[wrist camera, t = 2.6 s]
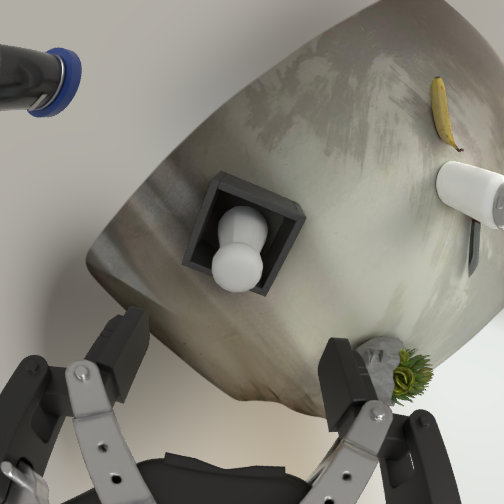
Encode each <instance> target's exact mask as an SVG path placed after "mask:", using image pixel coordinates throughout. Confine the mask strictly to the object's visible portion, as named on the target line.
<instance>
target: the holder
mask: <svg viewBox="0 0 504 504" xmlns="http://www.w3.org/2000/svg"><path fill="white" fill-rule="evenodd" d="M220 190H222V191H225V192H227V193H230V194H232V195H235V196H237V197H240V198H242V199H245V200H247V201H249V202H252V203H254V204H257V205H259V206H261V207H264V208H266V209H269V210H271V211H273V212H276V213H278V214H280V215H283V216H285V218H284V221H283V223H282V225H281V227H280V229H279V231H278V233H277V235H276V237H275V239H274V241H273V243H272V245H271V247H270V249H269V252H268V254H267V256H266V258H265V260H264V262H263V270H262V274H261V278H260V280H259V282H258V283H257V284H256V285H255V286H254V288H252V289H250V290H249V291H252V292H255V293H257V294H260V295H263V296H266V295H267V293H268V291H269V289H270V288H271V286H272V284H273V282H274V280H275V278H276V276H277V274H278V272H279V271H280V269H281V267H282V265H283V263H284V261H285V259H286V257H287V255H288V253H289V251H290V249H291V247H292V245H293V243H294V242H295V240H296V238H297V236H298V234H299V232H300V230H301V228H302V226H303V224H304V222H305V220H306V216H305V214H304V213H303V211H302V209H301V207H300V205H299V204H298V203H296V202H294V201H291V200H289V199H287V198H285V197H282V196H280V195H278V194H275V193H273V192H271V191H268V190H266V189H264V188H261V187H259V186H257V185H254V184H252V183H249V182H247V181H245V180H242V179H240V178H237V177H235V176H232V175H230V174H227V173H225V172H222V171H220V172H219V173H218V174H217V175H216V176H215V177H214V178H212V181H211V183H210V186H209V188H208V191H207V194H206V196H205V199H204V202H203V204H202V207H201V210H200V212H199V215H198V218H197V221H196V223H195V226H194V229H193V232H192V235H191V237H190V240H189V243H188V246H187V249H186V252H185V255H184V258H183V261H182V265H184V266H187V267H189V268H192V269H194V270H197V271H200V272H202V273H205V274H207V275H210V276H212V277H213V274H212V261H213V257H214V255H215V254H216V253H217V251H218V250H219V248H216V247H214V246H211V245H209V244H206V243H204V242H201V238H202V236H203V233H204V230H205V228H206V225H207V222H208V220H209V217H210V215H211V212H212V209H213V207H214V204H215V202H216V199H217V197H218V194H219V192H220Z"/></svg>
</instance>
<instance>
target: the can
mask: <svg viewBox="0 0 504 504" xmlns="http://www.w3.org/2000/svg"><path fill="white" fill-rule="evenodd" d="M436 188H437V193H438V196H439V198H440V199H441V201H442V202H444V203H445V204H447V205H448V206H450V207H452V208H454V209H456V210H458V211H460V212H462V213H464V214H466V215H468V216H470V217H472V218H473V219H475V220H477V221H479V222H481V223H483V224H484V225H486V226H488V227H490V228H493V229H498V228H499V229H500V230H504V176H503V175H501V174H498V173H495V172H492V171H489V170H485V169H482V168H478V167H475V166H471V165H467V164H463V163H459V162H455V161H450V162H447V163H445V164H444V165H443V166H442V167H441V169H440V170H439V173H438V175H437V180H436Z"/></svg>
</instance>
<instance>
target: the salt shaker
mask: <svg viewBox="0 0 504 504" xmlns="http://www.w3.org/2000/svg"><path fill="white" fill-rule="evenodd" d="M267 234H268V226H267V223H266V219H265V218H264V217H263V216H262V214H261V213H260V212H259V211H258V210H256V209H254V208H251V207H249V206H235V207H234V208H232V209H230V210H228V211H227V212H225V213H224V215H223V216H222V218H221V219H220V220H219V224H218V237H219V244H220V249H219V250H218V251H217V253H216V254H215V255H214V257H213V261H212V274H213V277H214V279H215V282H216V283H217V284H218V285H220V286H221V287H222V288H223V289H225V290H228V291H230V292H233V293H234V292H245V291H247V290H250V289H252V288H254V286H255V285H256V284H257V283H258V282H259V280H260V278H261V274H262V270H263V263H262V260H261V257H260V252H261V250H262V248H263V246H264V244H265V242H266V239H267Z"/></svg>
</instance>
